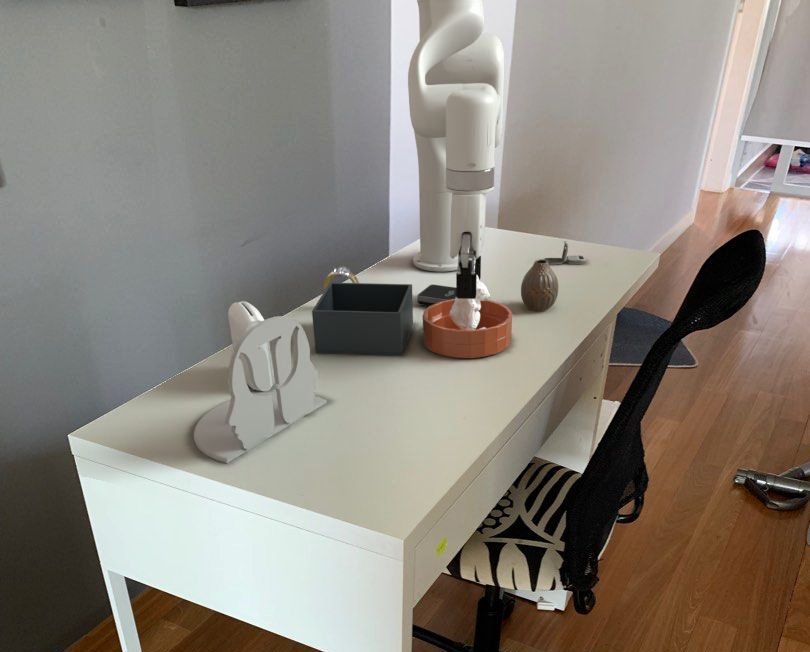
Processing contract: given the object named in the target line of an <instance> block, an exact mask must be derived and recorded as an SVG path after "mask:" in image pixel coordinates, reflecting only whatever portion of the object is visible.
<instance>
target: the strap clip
mask: <svg viewBox="0 0 810 652" xmlns="http://www.w3.org/2000/svg"><path fill="white" fill-rule="evenodd" d="M563 243H564V245H563V249H562V250H563V251H562V253H561V254H562V255H561V257H545V258H544V259H543V260H547V261H548V263H549V265H563V264H564V263H565V262H566V264H568V265H583V264H586V261H587V260H586V257H585V256H583V255H580V254H579V255H577V254H575V255H574V254H573V255H568V253H569V243H568V241H567V240H564V241H563Z"/></svg>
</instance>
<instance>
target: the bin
mask: <svg viewBox="0 0 810 652" xmlns="http://www.w3.org/2000/svg"><path fill="white" fill-rule="evenodd" d="M314 305H315V306H314V307H313V309H312V310H311V317H312V328H313V337H314V348H315V349H314V350H315V353H316V354H334V355H335V354H336V355H363V356H364V355H367V356H368V355H369V356H395V357H402V356H403V353H404V351H405V348H406V346H407V343H408V339H409V337H410V334H411V333H412V328H413V326H414V306H413V305H414V301H413V284H411V283H373V282H371V283H368V282H359V283H352V282H329V285H328V286H327V288H326V290H325V291H324V290H323V293H322V294H321V296H320V297H319V299H318V301H317V302H316V303H315V304H314Z"/></svg>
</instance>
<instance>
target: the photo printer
mask: <svg viewBox="0 0 810 652" xmlns="http://www.w3.org/2000/svg"><path fill="white" fill-rule="evenodd" d="M227 317H228V324H229V330H230V337H231V342H232V349H233V351H234V349H235V347H236V345H237V343H238V341H239V340H240V339H241V337H242V336H243V335H244V334H245V333H246V332H247V331H248V330H249V329H250V328H251V327H253V326H255V325H256V324H258V323H259V322H261V321H264V320H265V319H264V317H263V315H262V314H261V312H260V311H259V310H258V309H257V308H256V307H255V306H254V305H253V304H251V303H249V302H248V301H245V300H241V301H238V302H237V301H235V302H233V303H232V304H231V305H230V306H229V308H228V312H227ZM270 345H271V344H270V341H269V342H267V343H265V344H263V345H260V346H258V348H262V349H263V350H264V351H265V352H266V355H267V359H268V368H269V377H270V386H271V388H273V386H275V377H274V369H273V361H272V352H271V346H270ZM239 358H240V360H241V362H242V365H243V369H244V375H245V380H246V383H247V386H248V387H250V388H251V389H252V390H253V391H254V390H255V391H261V390H258V389H256V388H255V387H254V385H253V384H252V382H251V379H250V374H249V368H248V364H247V361H246V359H245V357H244V355H243V354H242V353H241V352H240V355H239Z"/></svg>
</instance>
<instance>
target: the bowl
mask: <svg viewBox="0 0 810 652" xmlns="http://www.w3.org/2000/svg"><path fill="white" fill-rule="evenodd" d="M454 302H455V299H451V300H446V301H442V302H438V303H436V304H433V305H431V306H427V308H426V309H424V311H423V313H422V341H423V344H424V346H425V348H427V349H428V350H430V351H431V352H432V353H436V354H438V355H441V356H445V357H450V358H456V359H457V358H458V359H460V358H461V359H474V358H476V359H477V358H485V357H489V356H493V355H496V354H498V353H501V352H503V351H505V350H506V349H507V348H508V347H509V346H510V345H511V343H512V329H513V328H512V327H513V311H512V310H511V309H510V308H509V307H508V306H506V305H505V304H503V303H500V302H498V301H494V300H490V299H488V300H485V301H480V304H481V308H480V310H479V313H480V321H479V323H478V325H477V327H476V329H475V330H460V328H459V327H458V326H457V325H455V323H454V322H453V321H452V319H451V318H450V310H451V309H452V305H453V304H454ZM483 327H485V328H486V329H480V328H483ZM477 329H478V330H477Z"/></svg>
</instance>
